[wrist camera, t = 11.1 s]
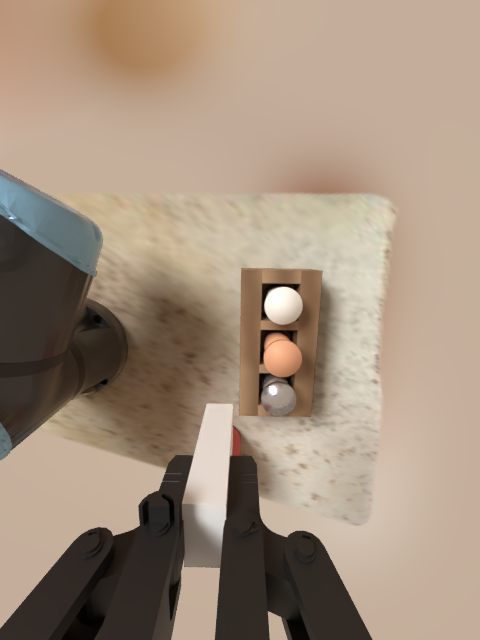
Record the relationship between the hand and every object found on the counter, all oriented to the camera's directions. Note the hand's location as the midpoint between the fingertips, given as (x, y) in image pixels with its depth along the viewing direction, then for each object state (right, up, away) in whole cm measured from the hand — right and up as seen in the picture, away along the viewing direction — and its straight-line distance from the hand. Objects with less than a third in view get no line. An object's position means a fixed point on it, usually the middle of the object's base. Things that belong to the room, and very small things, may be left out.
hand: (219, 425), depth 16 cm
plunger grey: (+6, -3, +25) cm, 26 cm away
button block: (+6, +4, +26) cm, 27 cm away
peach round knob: (+6, +3, +23) cm, 24 cm away
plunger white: (+6, +9, +23) cm, 25 cm away
